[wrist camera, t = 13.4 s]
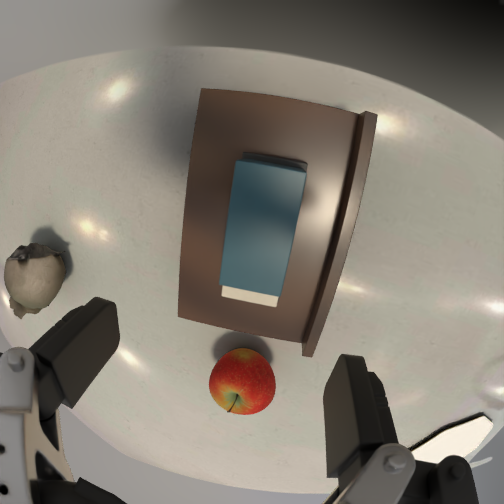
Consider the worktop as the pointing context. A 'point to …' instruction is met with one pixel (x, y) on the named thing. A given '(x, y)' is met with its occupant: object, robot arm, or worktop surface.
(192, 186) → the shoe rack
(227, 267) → the teal eraser block
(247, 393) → the apple
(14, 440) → the robot arm
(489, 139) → the worktop surface
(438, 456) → the plate
